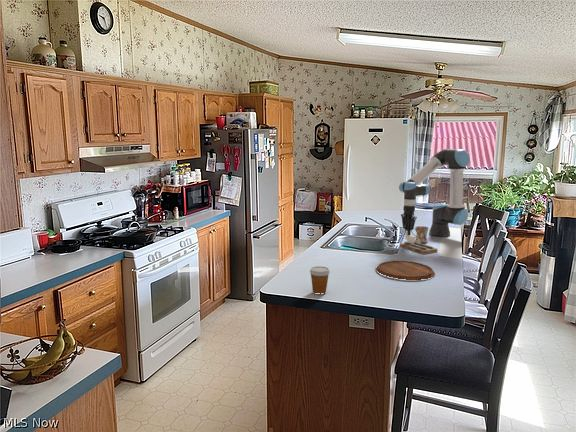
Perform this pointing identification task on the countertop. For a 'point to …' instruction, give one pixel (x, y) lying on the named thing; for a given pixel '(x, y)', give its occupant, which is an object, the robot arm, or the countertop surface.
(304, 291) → the countertop surface
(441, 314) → the countertop surface
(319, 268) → the beer glass
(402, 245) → the wooden tray
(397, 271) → the cutting board
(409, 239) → the fader knob
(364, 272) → the countertop surface
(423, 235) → the mug
